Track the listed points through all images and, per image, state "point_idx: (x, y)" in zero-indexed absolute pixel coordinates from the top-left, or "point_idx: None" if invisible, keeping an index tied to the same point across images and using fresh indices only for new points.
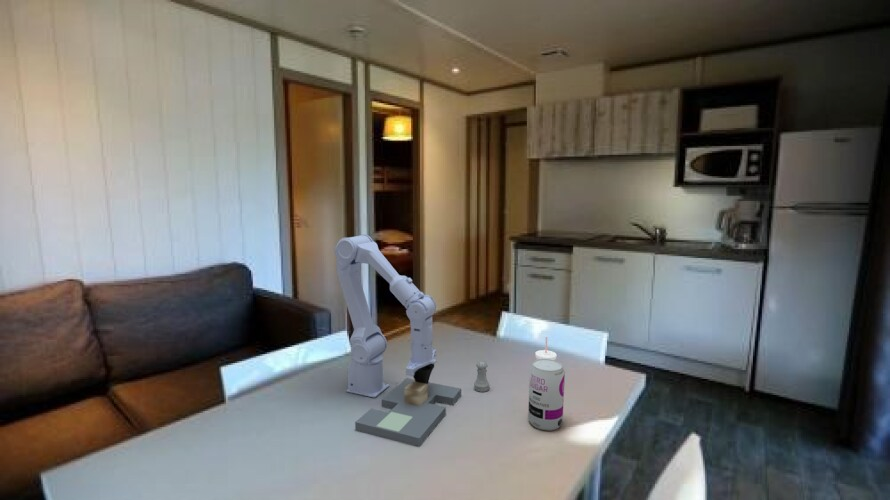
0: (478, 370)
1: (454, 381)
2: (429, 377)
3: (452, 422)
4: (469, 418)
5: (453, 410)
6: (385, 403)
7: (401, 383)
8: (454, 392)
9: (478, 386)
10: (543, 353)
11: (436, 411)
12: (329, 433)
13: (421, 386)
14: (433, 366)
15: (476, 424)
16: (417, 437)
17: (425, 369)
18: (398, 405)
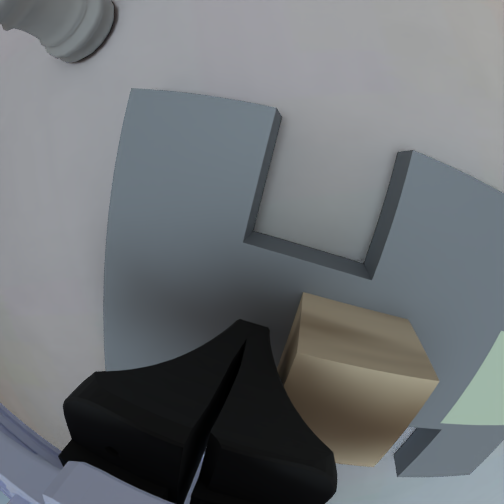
0: (20, 11)
1: (41, 173)
2: (193, 353)
3: (465, 113)
4: (407, 26)
5: (343, 108)
6: None
7: None
8: (188, 114)
9: (95, 21)
10: None
11: (468, 210)
12: (457, 485)
13: (352, 390)
14: (123, 403)
15: (447, 5)
16: None
17: (269, 491)
18: None
